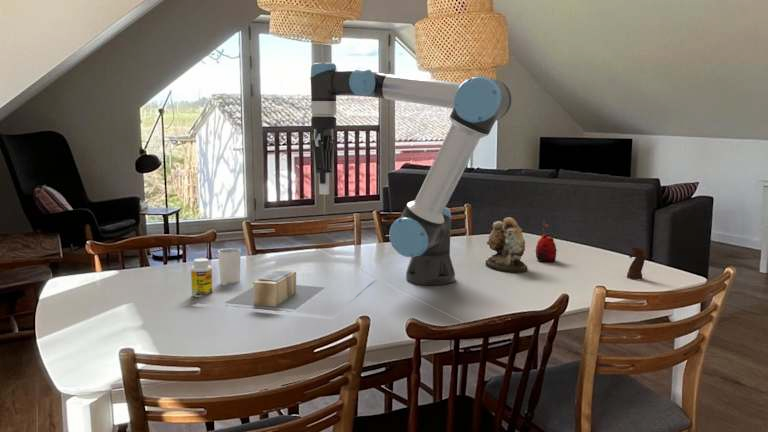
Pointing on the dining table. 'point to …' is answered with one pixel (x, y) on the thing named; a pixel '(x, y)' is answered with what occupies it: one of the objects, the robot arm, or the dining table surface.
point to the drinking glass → (229, 265)
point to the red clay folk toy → (546, 248)
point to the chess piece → (636, 263)
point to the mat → (290, 303)
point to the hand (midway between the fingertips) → (324, 194)
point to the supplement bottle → (201, 277)
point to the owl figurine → (506, 247)
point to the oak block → (274, 287)
